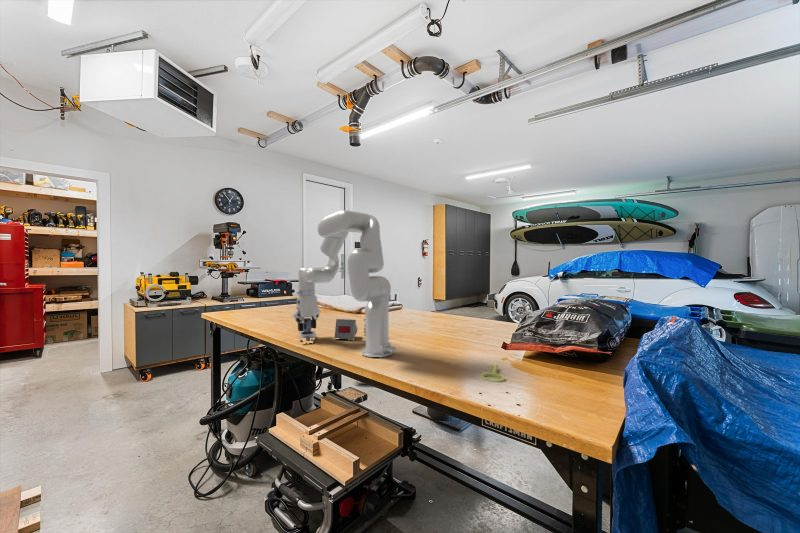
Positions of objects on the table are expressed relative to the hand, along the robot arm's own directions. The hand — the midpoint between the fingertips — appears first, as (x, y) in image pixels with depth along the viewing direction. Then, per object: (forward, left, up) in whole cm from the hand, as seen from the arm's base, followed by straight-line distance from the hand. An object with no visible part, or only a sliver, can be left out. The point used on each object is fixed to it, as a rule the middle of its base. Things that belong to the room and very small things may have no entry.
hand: (307, 329), depth 153 cm
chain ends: (+1, -1, -5) cm, 5 cm away
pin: (0, 0, -5) cm, 5 cm away
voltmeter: (-21, -16, -5) cm, 27 cm away
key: (-91, -2, -5) cm, 91 cm away
